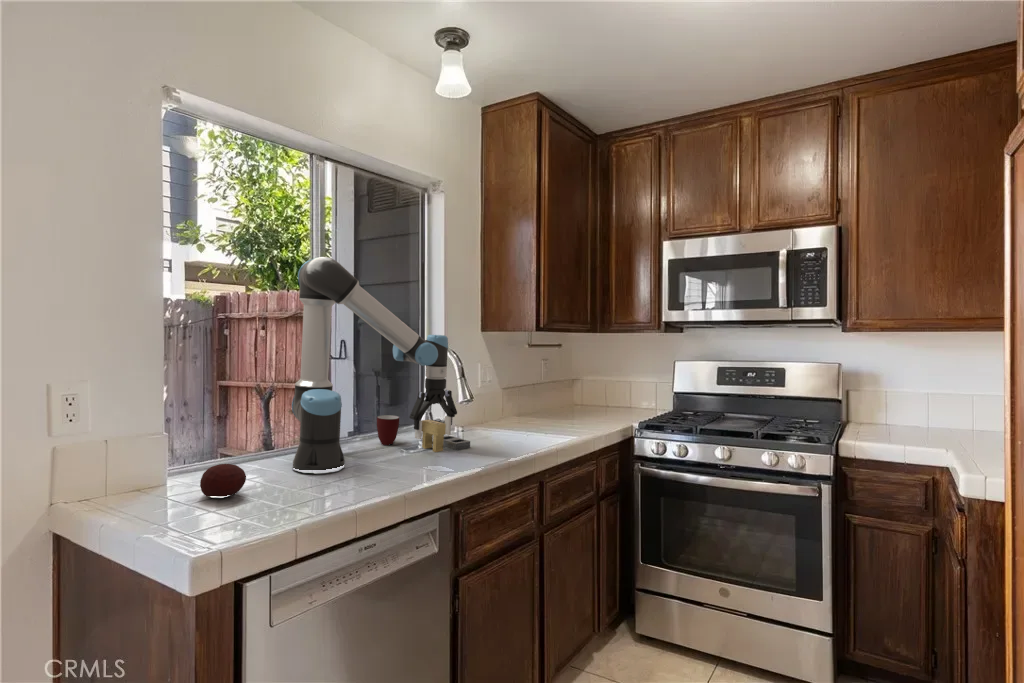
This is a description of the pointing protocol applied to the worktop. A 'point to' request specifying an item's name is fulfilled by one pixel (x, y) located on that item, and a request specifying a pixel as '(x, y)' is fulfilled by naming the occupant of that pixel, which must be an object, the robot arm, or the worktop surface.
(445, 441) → the grey flat block
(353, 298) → the robot arm
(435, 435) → the tan wooden arch block
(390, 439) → the mug
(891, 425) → the worktop surface
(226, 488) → the potato
